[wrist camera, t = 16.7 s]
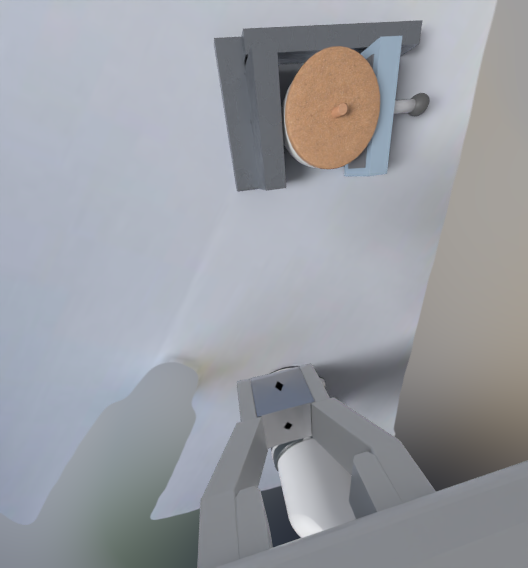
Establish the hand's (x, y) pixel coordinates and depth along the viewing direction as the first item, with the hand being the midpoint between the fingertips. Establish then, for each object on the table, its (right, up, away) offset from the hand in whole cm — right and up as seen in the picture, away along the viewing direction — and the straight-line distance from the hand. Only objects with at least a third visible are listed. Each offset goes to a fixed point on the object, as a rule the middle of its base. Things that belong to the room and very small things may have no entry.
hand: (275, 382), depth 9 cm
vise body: (+6, +27, +22) cm, 35 cm away
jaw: (+16, +27, +23) cm, 39 cm away
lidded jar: (+6, +26, +22) cm, 34 cm away
